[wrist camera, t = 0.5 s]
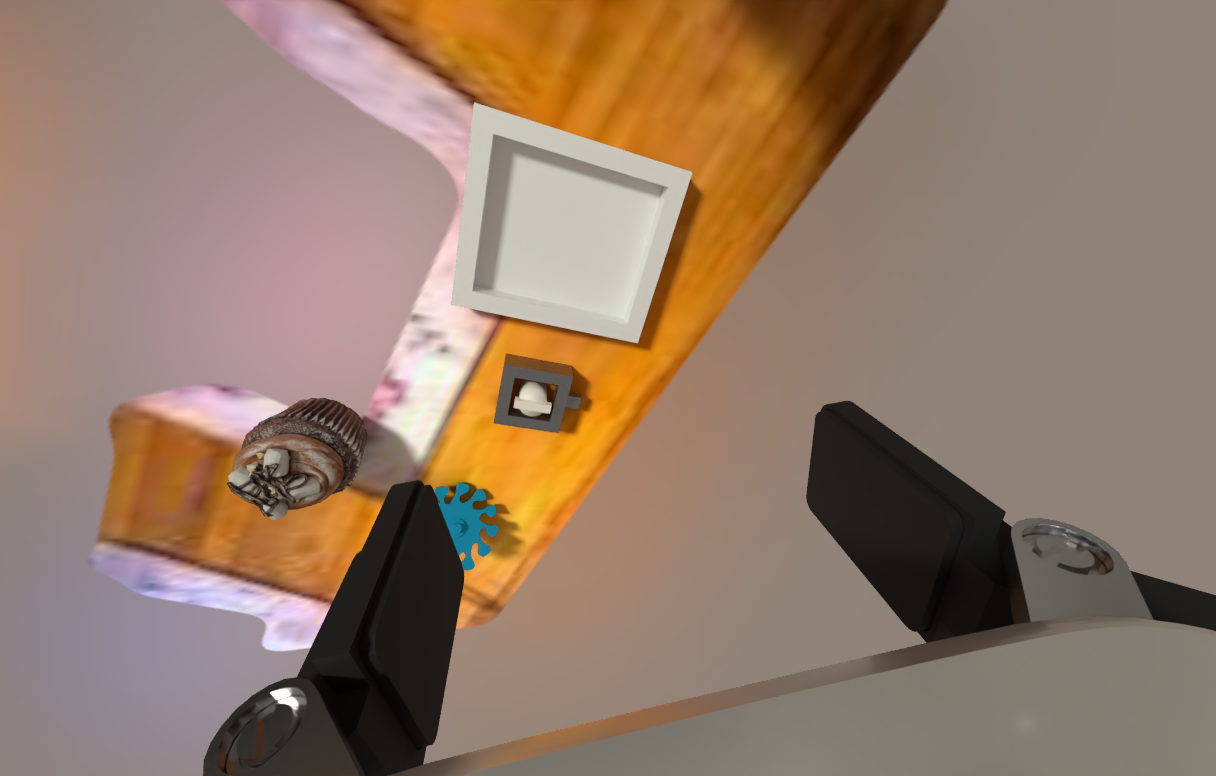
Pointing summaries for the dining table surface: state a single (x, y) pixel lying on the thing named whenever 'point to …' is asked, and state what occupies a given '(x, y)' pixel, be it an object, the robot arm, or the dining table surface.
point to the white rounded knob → (532, 398)
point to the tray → (562, 227)
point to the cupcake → (299, 457)
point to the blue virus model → (466, 522)
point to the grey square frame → (540, 373)
